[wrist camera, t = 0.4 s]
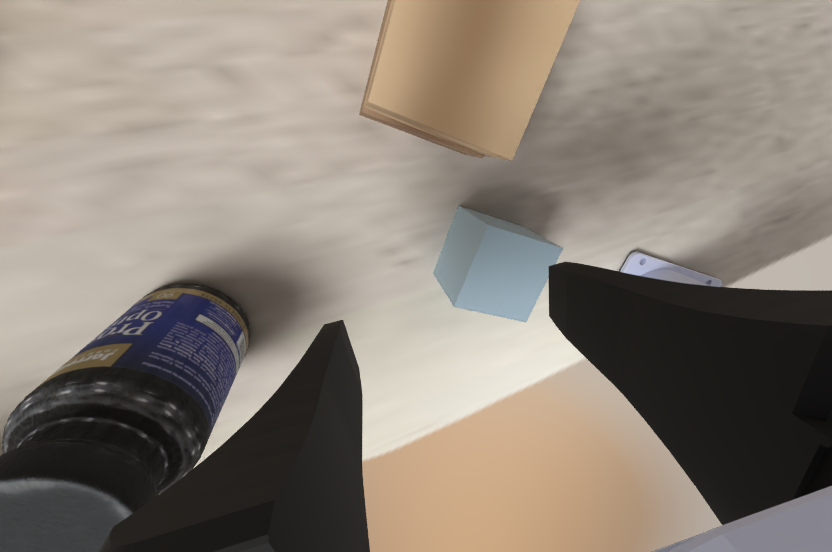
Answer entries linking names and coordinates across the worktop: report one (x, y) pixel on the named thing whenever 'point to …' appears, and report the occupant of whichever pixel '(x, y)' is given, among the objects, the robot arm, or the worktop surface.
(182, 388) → the pill bottle
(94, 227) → the worktop surface
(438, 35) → the slab upper
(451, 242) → the cube
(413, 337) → the worktop surface
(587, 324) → the robot arm
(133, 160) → the worktop surface
